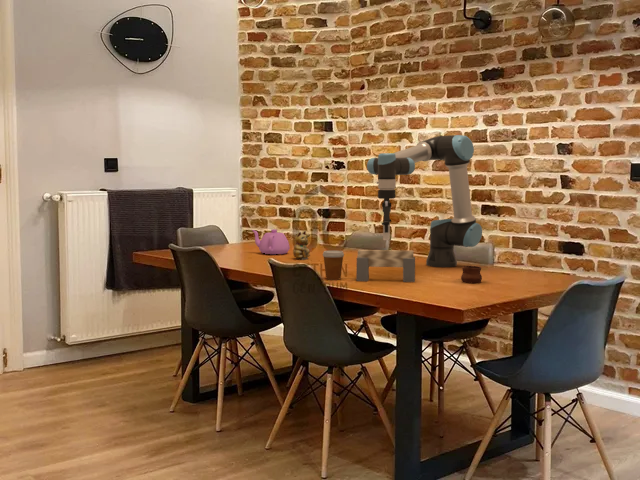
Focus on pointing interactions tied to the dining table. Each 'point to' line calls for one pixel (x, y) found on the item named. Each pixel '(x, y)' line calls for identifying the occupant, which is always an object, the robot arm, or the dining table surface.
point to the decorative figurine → (301, 246)
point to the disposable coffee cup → (333, 264)
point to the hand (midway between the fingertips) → (386, 238)
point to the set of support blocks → (408, 269)
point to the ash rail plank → (385, 257)
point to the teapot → (272, 242)
